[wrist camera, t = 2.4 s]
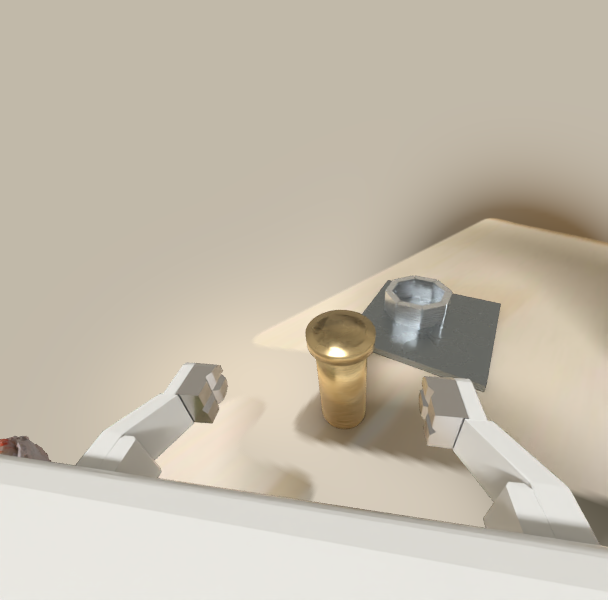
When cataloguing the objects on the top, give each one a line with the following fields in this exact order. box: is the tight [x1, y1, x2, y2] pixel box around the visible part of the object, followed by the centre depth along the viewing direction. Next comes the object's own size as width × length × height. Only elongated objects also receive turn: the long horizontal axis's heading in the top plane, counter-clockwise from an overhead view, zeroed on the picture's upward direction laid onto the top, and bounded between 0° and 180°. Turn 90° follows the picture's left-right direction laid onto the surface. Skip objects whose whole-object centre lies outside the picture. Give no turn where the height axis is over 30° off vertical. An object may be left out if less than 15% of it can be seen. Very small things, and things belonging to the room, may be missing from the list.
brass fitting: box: [306, 310, 376, 429], centre depth 29 cm, size 6×6×12 cm
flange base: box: [362, 276, 501, 392], centre depth 41 cm, size 18×18×4 cm
